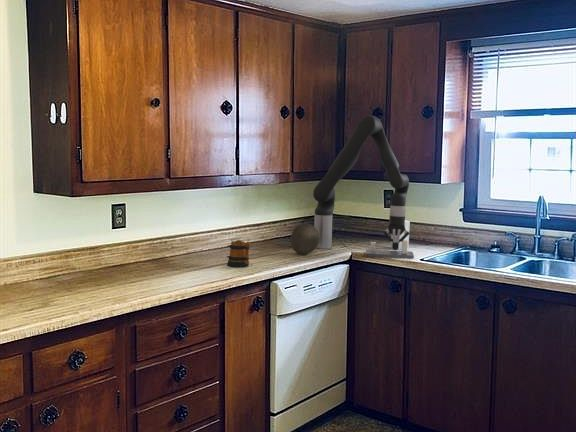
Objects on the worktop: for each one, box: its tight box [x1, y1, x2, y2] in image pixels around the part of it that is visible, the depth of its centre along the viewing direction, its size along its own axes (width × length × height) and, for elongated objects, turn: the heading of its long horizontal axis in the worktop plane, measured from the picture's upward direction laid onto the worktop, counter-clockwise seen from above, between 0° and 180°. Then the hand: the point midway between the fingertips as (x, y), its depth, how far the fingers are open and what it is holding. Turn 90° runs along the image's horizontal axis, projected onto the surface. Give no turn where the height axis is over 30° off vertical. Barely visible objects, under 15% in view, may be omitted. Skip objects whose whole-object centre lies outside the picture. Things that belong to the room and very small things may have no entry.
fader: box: [401, 240, 408, 254], centre depth 313 cm, size 2×3×6 cm
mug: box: [226, 239, 251, 269], centre depth 280 cm, size 13×10×12 cm
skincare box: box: [390, 219, 411, 251], centre depth 336 cm, size 8×6×15 cm
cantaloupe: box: [290, 223, 320, 256], centre depth 311 cm, size 14×14×15 cm
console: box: [365, 241, 415, 259], centre depth 315 cm, size 23×12×6 cm, turn 83°
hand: (395, 249), depth 314 cm, fingers closed
